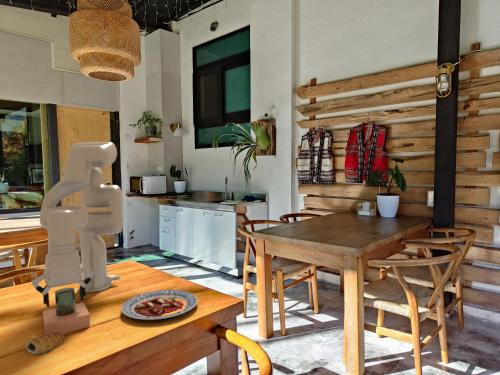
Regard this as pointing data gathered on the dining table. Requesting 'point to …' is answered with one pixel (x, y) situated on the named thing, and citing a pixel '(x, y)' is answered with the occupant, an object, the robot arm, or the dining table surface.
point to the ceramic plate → (158, 304)
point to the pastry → (44, 342)
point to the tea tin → (65, 301)
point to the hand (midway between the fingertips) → (65, 302)
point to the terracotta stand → (66, 320)
